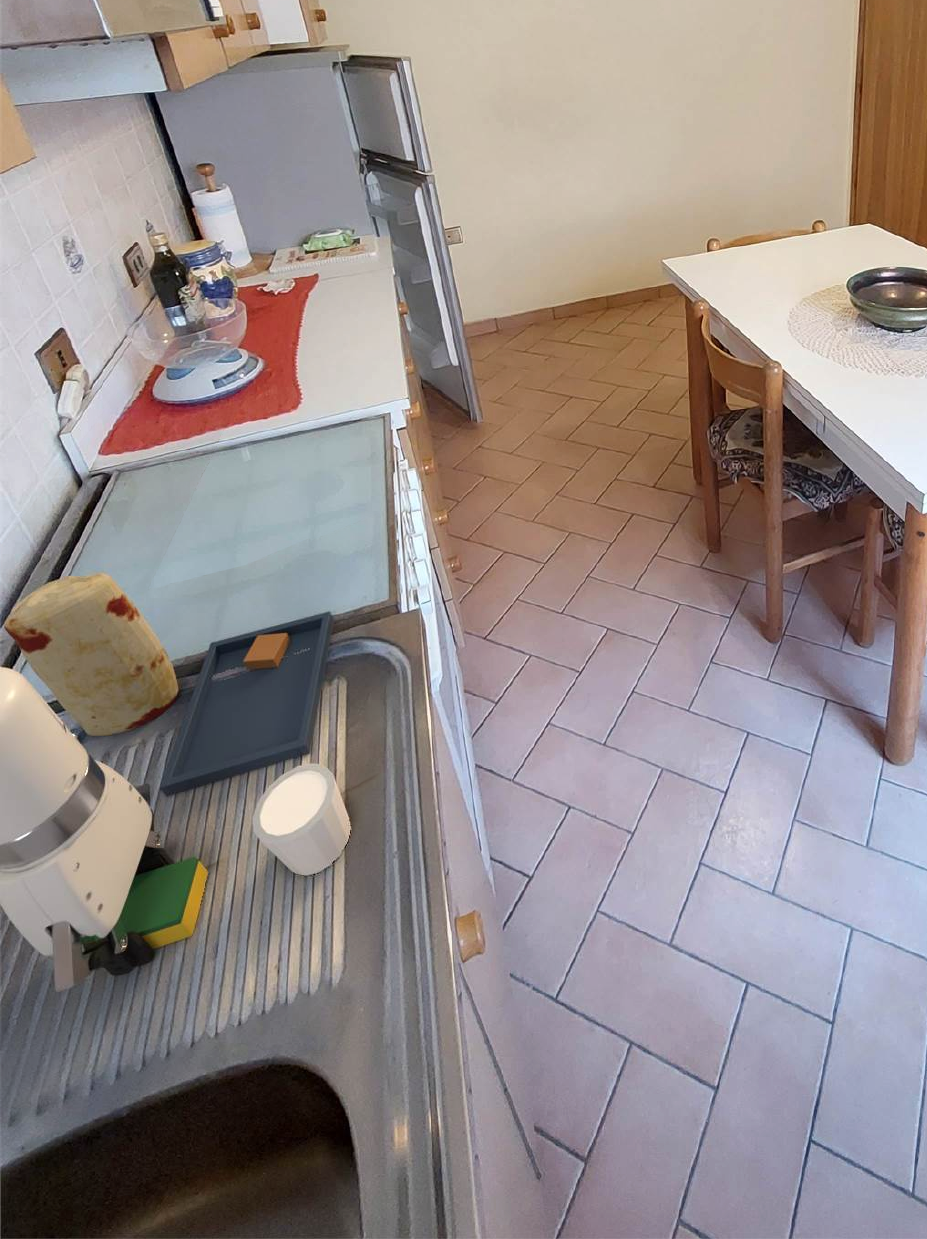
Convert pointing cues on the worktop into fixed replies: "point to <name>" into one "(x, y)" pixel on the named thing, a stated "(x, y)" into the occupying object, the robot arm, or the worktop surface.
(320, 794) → the white cylinder
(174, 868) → the sponge
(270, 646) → the orange flat block
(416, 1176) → the worktop surface
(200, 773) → the tray
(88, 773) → the robot arm
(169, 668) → the food model
